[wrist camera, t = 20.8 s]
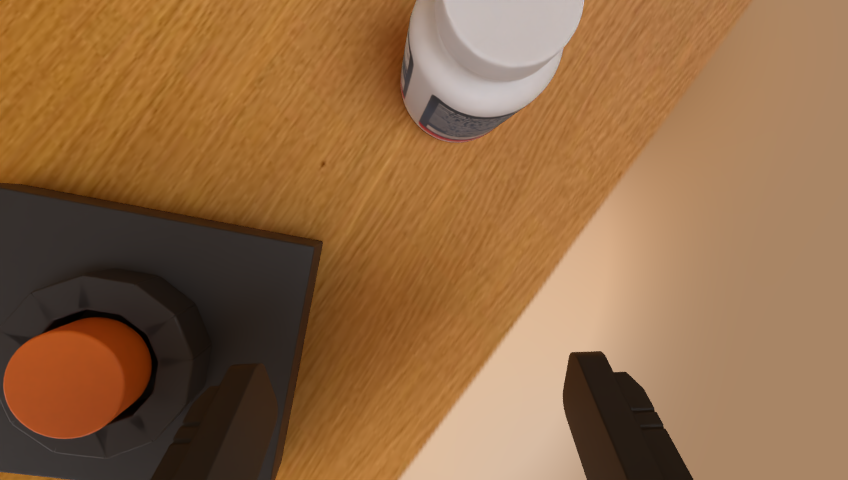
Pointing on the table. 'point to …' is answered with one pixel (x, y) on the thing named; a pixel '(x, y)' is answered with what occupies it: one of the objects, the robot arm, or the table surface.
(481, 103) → the pill bottle
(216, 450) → the robot arm
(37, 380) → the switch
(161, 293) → the button base
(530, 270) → the table surface
